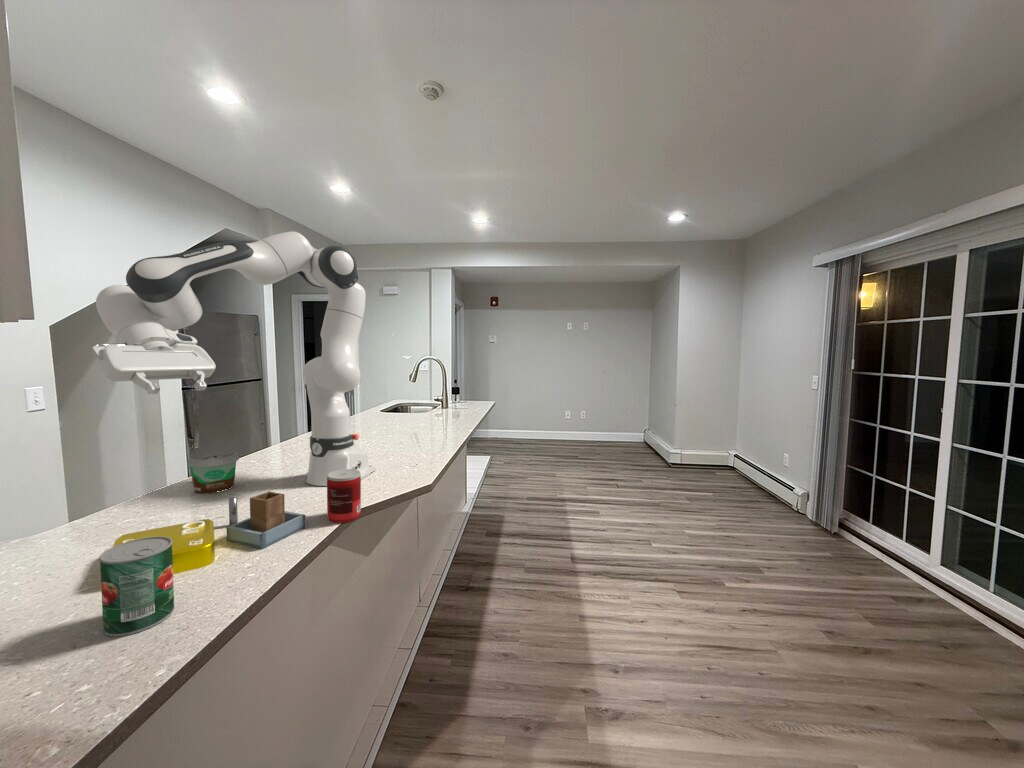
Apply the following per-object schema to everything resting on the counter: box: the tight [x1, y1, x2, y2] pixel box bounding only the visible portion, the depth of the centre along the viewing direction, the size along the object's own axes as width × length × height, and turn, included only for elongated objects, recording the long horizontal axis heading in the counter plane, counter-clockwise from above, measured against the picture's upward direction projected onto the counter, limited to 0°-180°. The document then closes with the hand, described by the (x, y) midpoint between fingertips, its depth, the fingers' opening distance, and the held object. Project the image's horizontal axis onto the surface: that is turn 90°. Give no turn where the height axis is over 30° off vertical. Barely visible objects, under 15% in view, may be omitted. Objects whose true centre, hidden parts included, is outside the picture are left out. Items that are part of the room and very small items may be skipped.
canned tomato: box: [99, 536, 175, 637], centre depth 59 cm, size 8×8×11 cm
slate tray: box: [226, 510, 307, 550], centre depth 88 cm, size 11×10×3 cm
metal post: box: [228, 496, 239, 526], centre depth 91 cm, size 2×2×6 cm
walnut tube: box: [249, 491, 286, 533], centre depth 88 cm, size 5×5×8 cm
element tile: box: [112, 518, 216, 575], centre depth 76 cm, size 15×15×5 cm
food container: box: [186, 450, 240, 494], centre depth 113 cm, size 12×6×10 cm, turn 143°
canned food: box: [326, 469, 362, 524], centre depth 98 cm, size 8×8×11 cm
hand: (179, 390), depth 87 cm, fingers open, 8 cm apart
